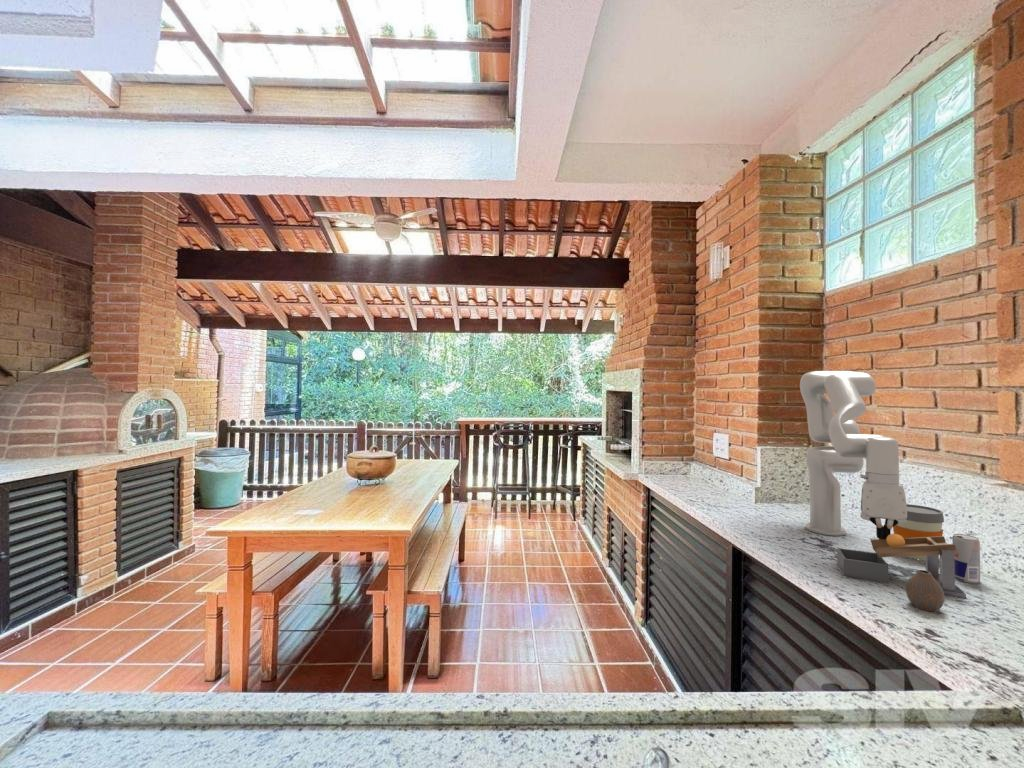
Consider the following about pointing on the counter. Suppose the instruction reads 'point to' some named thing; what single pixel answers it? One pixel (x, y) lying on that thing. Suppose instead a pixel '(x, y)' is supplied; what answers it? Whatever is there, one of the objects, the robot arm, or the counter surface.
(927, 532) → the reusable coffee cup
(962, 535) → the energy drink
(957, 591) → the stand
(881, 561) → the bin
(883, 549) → the wooden tilting tray
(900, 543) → the ball
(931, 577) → the vase
